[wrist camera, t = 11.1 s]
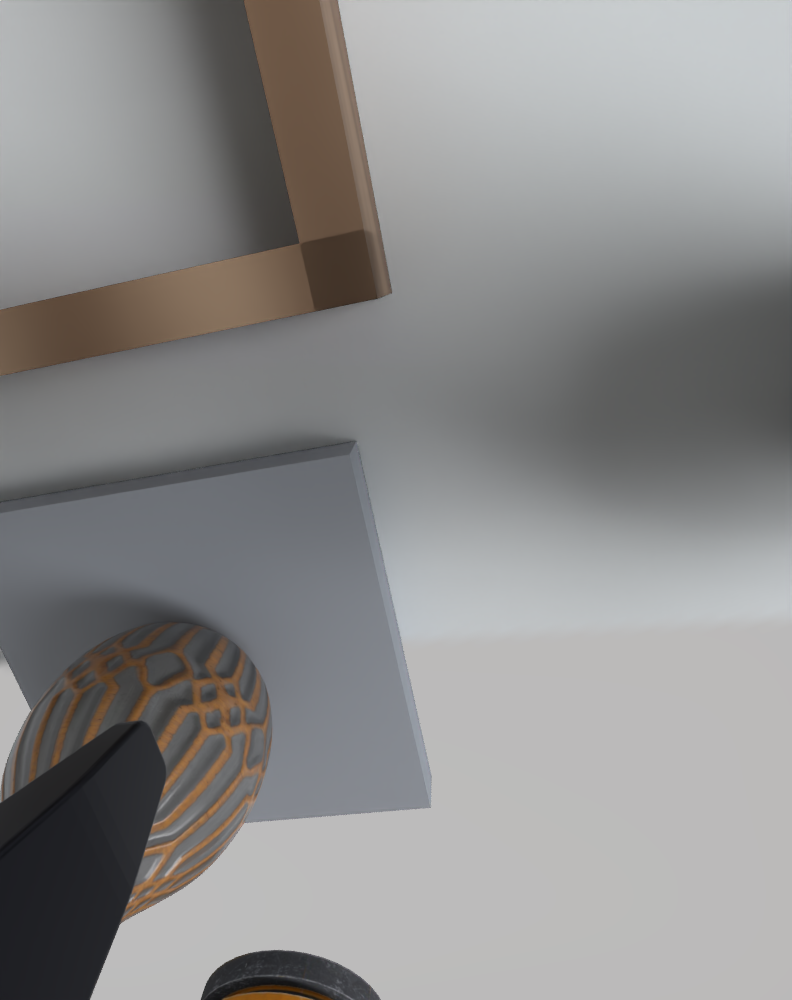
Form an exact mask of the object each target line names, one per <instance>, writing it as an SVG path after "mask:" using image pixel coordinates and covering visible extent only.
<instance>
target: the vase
mask: <svg viewBox="0 0 792 1000" xmlns="http://www.w3.org/2000/svg"><path fill="white" fill-rule="evenodd" d="M139 720H141V721H145V722H146V723H148V724H149V725H150V727H151V729H152V732H153V734H154V737H155V739H156V741H157V744H158V746H159V749H160V751H161V754H162V756H163V759H164V761H165V764H166V772H167V775H166V782H165V786H164V789H163V793H162V796H161V799H160V803H159V806H158V809H157V813H156V816H155V819H154V823H153V826H152V829H151V833H150V836H149V839H148V843H147V846H146V850H145V853H144V856H143V860H142V863H141V866H140V870H139V873H138V876H137V879H136V882H135V885H134V888H133V891H132V894H131V897H130V899H129V902H128V905H127V907H126V910H125V913H124V915H123V918H122V920H121V923H122V922H124V921H125V920H126V919H129V918H130V917H132V916H134V915H136V914H138V913H140V912H142V911H144V910H145V909H147V908H149V907H151V906H153V905H155V904H157V903H158V902H160V901H162V900H164V899H166V898H167V897H169V896H171V895H173V894H174V893H176V892H178V891H179V890H181V889H182V888H184V887H185V886H187V885H188V884H190V883H191V882H192V881H193V880H195V879H196V878H198V876H200V875H201V874H202V873H203V872H204V871H205V870H206V869H207V868H208V867H210V866H211V865H212V864H213V862H214V861H215V860H216V859H217V858H218V857H219V856H220V854H221V853H222V852H223V851H224V850H225V849H226V847H227V846H228V845H229V844H230V842H231V841H232V840H233V838H234V837H235V835H236V834H237V833H238V831H239V830H240V828H241V827H242V825H243V824H244V822H245V820H246V818H247V817H248V815H249V813H250V811H251V809H252V808H253V805H254V803H255V801H256V798H257V796H258V793H259V791H260V788H261V785H262V782H263V779H264V776H265V773H266V769H267V765H268V761H269V757H270V752H271V743H272V711H271V705H270V700H269V696H268V691H267V688H266V685H265V683H264V680H263V678H262V676H261V674H260V673H259V671H258V669H257V668H256V666H255V665H254V664H253V662H252V661H251V659H250V658H249V657H248V656H247V655H246V653H245V652H244V651H243V650H242V649H241V648H239V647H238V646H237V645H236V644H235V643H233V642H232V641H231V640H229V639H228V638H226V637H224V636H223V635H221V634H219V633H217V632H215V631H213V630H210V629H208V628H205V627H201V626H198V625H194V624H188V623H177V622H159V623H152V624H147V625H143V626H139V627H136V628H132V629H129V630H127V631H124V632H122V633H120V634H117V635H115V636H113V637H111V638H109V639H107V640H105V641H103V642H102V643H100V644H98V645H97V646H95V647H93V648H92V649H90V650H89V651H87V652H86V653H84V654H83V655H82V656H81V657H80V658H78V659H77V660H76V661H75V662H74V663H73V664H71V665H70V666H69V667H68V668H67V669H66V670H65V671H64V672H63V673H62V674H61V675H60V676H59V677H58V678H57V679H56V680H55V681H54V682H53V683H52V684H51V685H50V686H49V687H48V689H47V690H46V691H45V692H44V693H43V694H42V696H41V697H40V698H39V700H38V701H37V703H36V704H35V705H34V707H33V708H32V710H31V711H30V713H29V715H28V717H27V718H26V720H25V722H24V724H23V726H22V727H21V729H20V731H19V733H18V736H17V738H16V740H15V742H14V744H13V747H12V749H11V752H10V754H9V757H8V760H7V763H6V767H5V770H4V774H3V778H2V784H1V791H0V803H1V802H2V801H4V800H5V799H7V798H8V797H9V796H11V795H12V794H14V793H15V792H17V791H18V790H20V789H21V788H23V787H24V786H25V785H27V784H28V783H30V782H31V781H33V780H34V779H36V778H37V777H39V776H40V775H41V774H43V773H44V772H46V771H47V770H49V769H50V768H52V767H53V766H55V765H56V764H57V763H59V762H60V761H62V760H63V759H65V758H66V757H68V756H69V755H71V754H72V753H74V752H75V751H76V750H78V749H79V748H81V747H82V746H84V745H85V744H87V743H88V742H90V741H91V740H92V739H94V738H95V737H97V736H98V735H100V734H101V733H103V732H104V731H106V730H107V729H108V728H110V727H111V726H113V725H115V724H117V723H121V722H130V721H139ZM121 923H120V924H121Z"/></svg>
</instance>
